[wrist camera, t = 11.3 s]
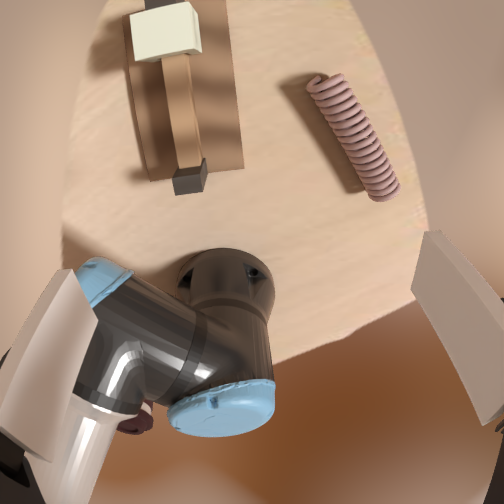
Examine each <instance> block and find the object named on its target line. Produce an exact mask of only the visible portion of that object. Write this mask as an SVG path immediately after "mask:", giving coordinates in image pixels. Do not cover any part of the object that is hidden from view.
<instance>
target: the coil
mask: <svg viewBox="0 0 504 504" xmlns="http://www.w3.org/2000/svg"><path fill="white" fill-rule="evenodd" d="M343 79H344V75H343V74H336V75H334V76H332V77H330V78H328V79H326V80H325V81H323V82H322V83H320V84H318V85H316V84H317V83H319V82H320V81H321V80H322V79H321V78H320V76H319V75H317V76H316V77H315V78H313V79H312V80H311V81H310V82H309V83H308V84H307V86H306V90H307V91H308V92H311V97H312V98H313V99H314V100H315V103H316V105H317V106H318V107H320V111H321V113H323V114H324V117H325V119H326V120H327V121H329V122H328V123H329V126H330V127H331V128H333V132H334V134H336V135H337V139H338V140H339V141H340V142H341V146H342V147H343V148H344V150H345V153H346V154H347V155H348V158H349V160H350V161H351V162H352V166H353V167H354V168H355V170H356V173H357V174H358V175H359V178H360V180H361V181H362V184H363V186H364V187H365V190H366V192H367V193H368V196H369V198H370V199H372V200H373V201H376V202H383V201H388V200H390V199H392V198H394V197H395V196H397V195H398V193H399V192H400V189H401V186H400V184H399V183H398V179H397V177H396V176H395V172H394V171H393V168H392V165H391V164H390V161H389V159H388V158H387V155H386V152H384V151H383V146H382V145H381V144H380V140H379V139H378V138H377V137H376V136H377V134H376V132H375V131H373V126H372V125H371V124H369V119H368V118H367V117H365V114H366V113H365V111H364V110H361V104H360V103H357V97H356V96H354V95H352V94H353V90H352V89H351V88H347V87H348V86H349V83H348V82H347V81H342V80H343ZM325 89H326V90H325ZM322 90H325V91H323V92H321V93H319V92H320V91H322ZM328 97H329V98H328ZM325 98H327V99H326V100H324V99H325ZM328 106H330V107H329V108H327V107H328ZM331 114H333V115H331ZM336 121H337V122H336ZM354 125H356V126H354ZM362 130H364V131H362ZM359 131H362V132H360V133H358V134H356V133H357V132H359ZM354 134H356V135H354ZM368 136H369V137H368ZM365 137H368V138H365ZM363 138H365V139H363ZM361 139H363V140H361ZM359 140H361V141H359ZM357 141H359V142H357ZM356 142H357V143H356ZM371 143H373V144H371ZM369 144H370V145H369ZM360 148H362V149H360ZM358 149H360V150H358ZM376 149H377V150H376ZM361 156H362V157H361ZM383 162H384V163H383ZM364 163H365V164H364ZM366 170H367V171H366ZM392 190H393V191H392ZM391 191H392V192H391ZM389 192H391V193H389ZM387 193H389V194H387ZM385 194H387V195H385ZM380 195H383V196H380Z"/></svg>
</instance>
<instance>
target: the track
mask: <svg viewBox="0 0 504 504" xmlns="http://www.w3.org/2000/svg"><path fill="white" fill-rule="evenodd" d="M144 1H145V10H142V11H138V12H135V13H131V14H128V15H124V16H122V19H123V28H124V37H125V45H126V53H127V60H128V67H129V74H130V81H131V87H132V93H133V99H134V105H135V110H136V116H137V121H138V127H139V132H140V137H141V142H142V147H143V151H144V156H145V161H146V165H147V170H148V174H149V179H150V182H151V181H157V180H163V179H170V178H172V182H173V187H174V192H175V196H176V195H183V194H191V193H198V192H203V190H204V186H205V182H206V178H207V174H208V173H211V172H219V171H228V170H236V169H244V160H243V151H242V142H241V133H240V124H239V115H238V106H237V97H236V88H235V79H234V71H233V62H232V53H231V44H230V35H229V26H228V17H227V9H226V0H186V1H185V0H144ZM187 1H189V3H190V4H191V5H192V7H193V8H194V10H195V11H196V13H197V14H198V22H199V30H200V39H201V47H202V53H199V54H193V55H191V54H188V53H184V54H179V55H174V56H169V57H164V58H161V60H162V61H158V62H142V61H135V56H134V49H133V41H132V32H131V23H130V15H132V14H136V13H139V12H143V11H147V10H150V9H154V8H159V7H163V6H167V5H172V4H177V3H182V2H187Z"/></svg>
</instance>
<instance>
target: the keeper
mask: <svg viewBox="0 0 504 504" xmlns="http://www.w3.org/2000/svg"><path fill="white" fill-rule="evenodd" d="M130 23H131V32H132V41H133V49H134V56H135V61H142V62H158V61H162V60H161V58H164V57H169V56H174V55H179V54H184V53H188V54H191V55H193V54H199V53H202V47H201V39H200V30H199V22H198V14H197V13H196V11H195V10H194V8H193V7H192V5H191V4H190V3H189V1H187V2H182V3H177V4H172V5H167V6H163V7H159V8H154V9H150V10H147V11H143V12H139V13H136V14H132V15H130Z"/></svg>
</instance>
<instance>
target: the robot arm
mask: <svg viewBox="0 0 504 504" xmlns="http://www.w3.org/2000/svg"><path fill="white" fill-rule="evenodd" d="M133 273H134V271H132V270H127V269H125V268H123V267H121V266H119V265H117V264H116V263H114V262H112V261H110V260H108V259H106V258H104V257H93V258H90V259H88V260H87V261H86V262H85V263H83V264H82V265H81V267H80V268H79V269H78V270H77V271H76V272H75V274H74V271H73V269H63V270H57V272H56V273H55V275H54V276H53V278H52V279H51V281H50V282H49V284H48V285H47V287H46V288H45V290H44V291H43V293H42V295H41V296H40V298H39V300H38V301H37V303H36V304H35V306H34V308H33V310H32V311H31V313H30V315H29V316H28V318H27V320H26V321H25V323H24V325H23V327H22V329H21V330H20V332H19V334H18V336H17V338H16V339H15V341H14V343H13V345H12V347H11V348H10V349H9V350H8V351H7V353H6V354H5V355H4V356H3V357H2V359H1V361H0V504H88V502H89V500H90V497H91V494H92V491H93V488H94V486H95V483H96V480H97V477H98V475H99V472H100V469H101V467H102V464H103V461H104V459H105V456H106V453H107V451H108V449H109V446H110V443H111V441H112V438H113V436H114V433H115V431H116V428H117V426H118V424H119V422H121V421H123V420H127V419H130V418H134V417H136V416H137V415H138V413H139V411H140V409H141V407H142V404H143V402H144V400H145V399H147V400H150V401H153V402H155V403H158V404H160V405H163V406H165V407H168V408H169V410H168V411H167V417H168V419H169V423H170V424H171V425H172V426H173V427H174V428H175V429H176V430H178V431H180V432H182V433H185V434H189V435H194V436H202V437H224V436H231V435H237V434H242V433H245V432H248V431H251V430H254V429H256V428H258V427H260V426H262V425H263V424H264V423H266V422H267V421H268V420H269V419H270V418H271V416H272V414H273V412H274V409H275V396H274V395H275V394H274V390H275V382H274V374H273V367H272V359H271V352H270V345H269V337H268V330H267V323H268V320H269V317H270V314H271V311H272V308H273V304H274V300H275V288H274V282H273V278H272V275H271V273H270V271H269V269H268V268H267V267H266V265H265V264H264V263H263V262H262V261H260V260H259V259H258V258H256V257H255V256H253V255H251V254H249V253H246V252H243V251H240V250H235V249H226V248H225V249H213V250H209V251H205V252H202V253H200V254H198V255H196V256H195V257H193V258H192V259H190V260H189V261H188V262H187V263H186V264H185V265H184V266H183V268H182V269H181V271H180V273H179V276H178V280H177V284H176V298H175V297H173V296H171V295H170V294H168V293H166V292H164V291H162V290H161V289H159V288H157V287H155V286H153V285H152V284H150V283H148V282H146V281H145V280H143V279H141V278H140V277H138V276H136V275H135V274H133ZM411 291H412V293H413V294H414V296H415V297H416V299H417V301H418V302H419V304H420V306H421V307H422V309H423V311H424V312H425V314H426V316H427V317H428V319H429V321H430V323H431V324H432V326H433V328H434V329H435V331H436V333H437V335H438V337H439V338H440V340H441V342H442V344H443V345H444V347H445V349H446V351H447V353H448V355H449V357H450V359H451V360H452V363H453V365H454V366H455V368H456V370H457V372H458V374H459V376H460V378H461V380H462V383H463V385H464V386H465V389H466V391H467V393H468V395H469V397H470V399H471V402H472V404H473V406H474V408H475V410H476V412H477V415H478V417H479V419H480V422H481V424H482V426H483V425H485V424H487V423H489V422H491V421H493V420H494V419H496V418H498V417H499V416H500V415H501V414H502V413H503V412H504V298H499V296H498V295H497V294H496V293H495V291H494V290H493V289H492V288H491V286H490V285H489V284H488V283H487V281H486V280H485V279H484V278H483V277H482V276H481V274H480V273H479V272H478V271H477V270H476V269H475V267H474V266H473V265H472V264H471V263H470V262H469V260H468V259H467V258H466V257H465V256H464V255H463V254H462V253H461V252H460V250H459V249H458V248H457V247H456V246H455V245H454V244H453V243H452V242H451V241H450V240H449V239H448V238H447V237H446V236H445V235H444V234H443V232H442V231H441V230H435V231H425V232H424V236H423V241H422V245H421V250H420V254H419V258H418V262H417V266H416V270H415V274H414V278H413V282H412V285H411ZM503 426H504V419H503V420H502V421H501V422H500V423H499V424H498V425H497V427H496V429H495V432H498V431H499V430H500V429H501V428H502V427H503ZM501 433H502V434H503V439H502V443H501V448H500V452H499V455H498V459H497V463H496V466H495V470H494V473H493V476H492V480H491V483H490V486H489V489H488V492H487V495H486V497H485V500H484V503H483V504H504V429H503V430H502V431H501ZM25 451H26V453H25V456H24V452H25Z"/></svg>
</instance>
